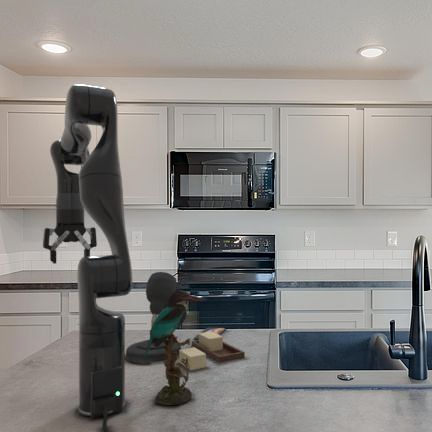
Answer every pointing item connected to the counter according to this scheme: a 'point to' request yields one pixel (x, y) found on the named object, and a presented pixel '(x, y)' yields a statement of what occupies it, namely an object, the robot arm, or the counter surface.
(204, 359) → the pad
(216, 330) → the smartphone
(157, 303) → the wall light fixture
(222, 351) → the frame
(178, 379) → the sculpture
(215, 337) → the pad
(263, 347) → the counter surface
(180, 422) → the counter surface
